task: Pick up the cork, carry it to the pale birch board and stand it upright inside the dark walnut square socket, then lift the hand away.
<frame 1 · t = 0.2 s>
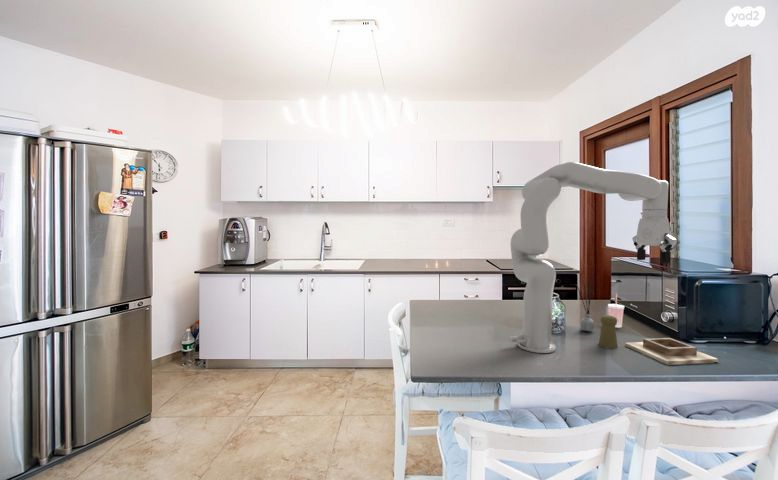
hand: (652, 261, 138), 31 cm above the countertop, tool pointing down, fingers open, 9 cm apart
beverage cup: (615, 326, 162), on the countertop
reed diffuser: (583, 331, 155), on the countertop
cork: (607, 346, 137), on the countertop
socket board: (668, 353, 129), on the countertop
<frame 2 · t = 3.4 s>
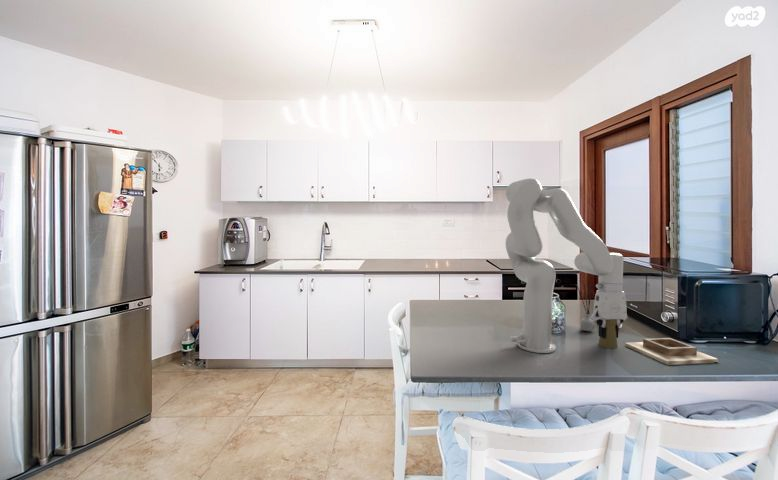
hand: (608, 336, 137), 3 cm above the countertop, tool pointing down, fingers closed on cork, 4 cm apart
cork: (607, 346, 137), on the countertop, touching gripper
everything else where it was.
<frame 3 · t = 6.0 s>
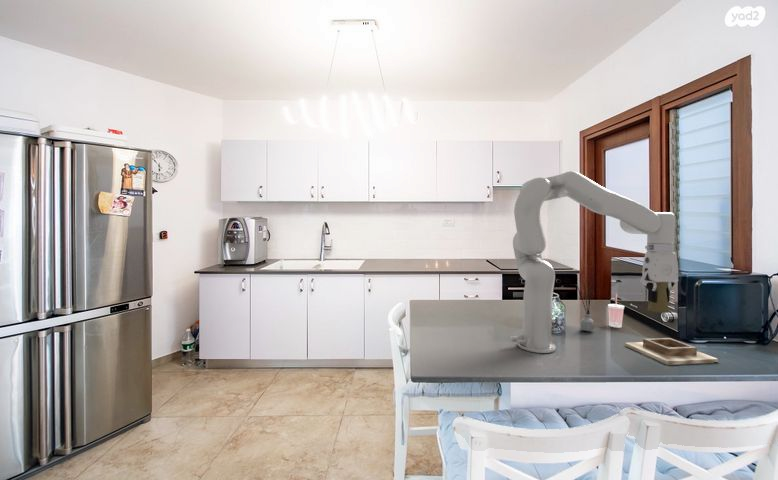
hand: (658, 301, 129), 18 cm above the countertop, tool pointing down, fingers closed on cork, 4 cm apart
cork: (658, 311, 130), point 14 cm above the countertop, touching gripper
everything else where it was.
when the fingers open (5 cm above the countertop, at t = 8.9 s): cork stays where it is, resting on socket board.
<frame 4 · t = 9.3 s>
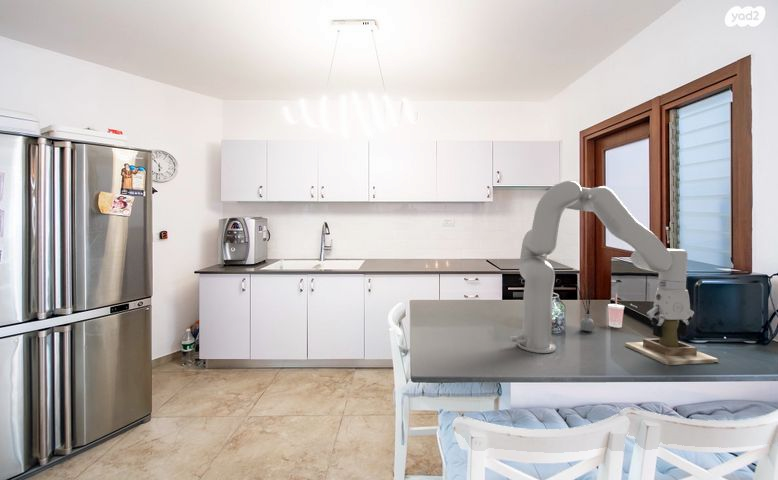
hand: (669, 335, 128), 6 cm above the countertop, tool pointing down, fingers open, 8 cm apart
cork: (668, 350, 129), point 1 cm above the countertop, touching socket board
everything else where it was.
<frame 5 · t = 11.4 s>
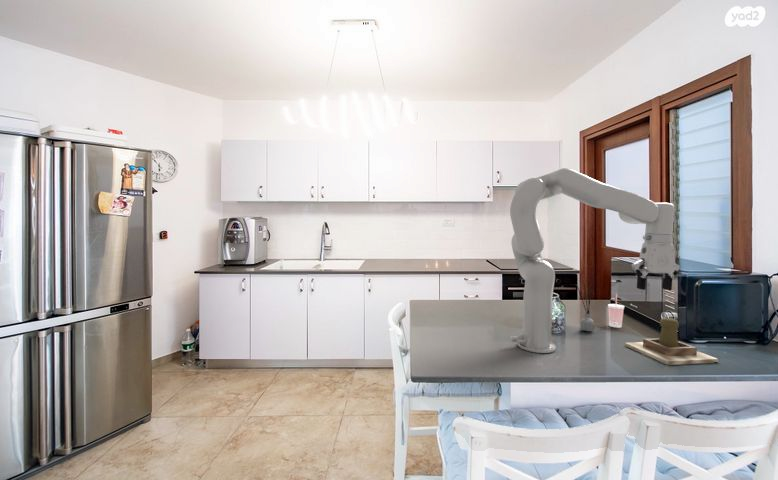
hand: (653, 289, 129), 22 cm above the countertop, tool pointing down, fingers open, 9 cm apart
nothing on the countertop moved.
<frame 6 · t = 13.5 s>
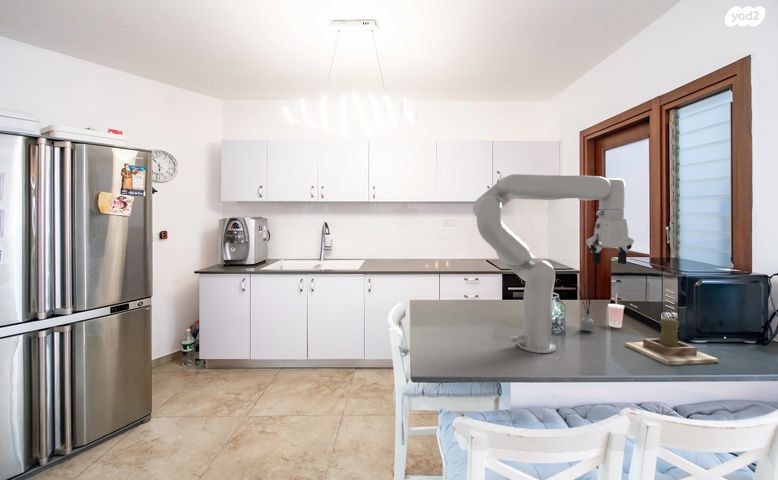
hand: (609, 263, 132), 30 cm above the countertop, tool pointing down, fingers open, 9 cm apart
nothing on the countertop moved.
at the end: cork 0.2 cm off-centre on the socket board, point 1.0 cm above the socket board's base; cork tilted 0°; the gripper is holding nothing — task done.
